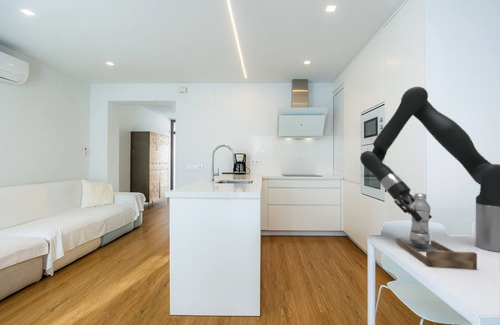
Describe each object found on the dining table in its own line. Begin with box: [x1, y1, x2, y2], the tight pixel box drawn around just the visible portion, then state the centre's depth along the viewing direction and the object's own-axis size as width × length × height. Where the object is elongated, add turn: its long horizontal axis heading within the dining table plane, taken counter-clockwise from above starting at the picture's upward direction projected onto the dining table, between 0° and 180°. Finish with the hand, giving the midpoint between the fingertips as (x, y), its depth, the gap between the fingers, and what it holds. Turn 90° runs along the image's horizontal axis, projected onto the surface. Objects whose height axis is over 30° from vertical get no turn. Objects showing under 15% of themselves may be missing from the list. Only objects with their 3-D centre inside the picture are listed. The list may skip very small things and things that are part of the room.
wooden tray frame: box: [396, 238, 478, 270], centre depth 87 cm, size 14×22×5 cm, turn 172°
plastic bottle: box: [409, 193, 432, 245], centre depth 94 cm, size 6×7×20 cm
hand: (424, 219), depth 92 cm, fingers closed on plastic bottle, 6 cm apart
